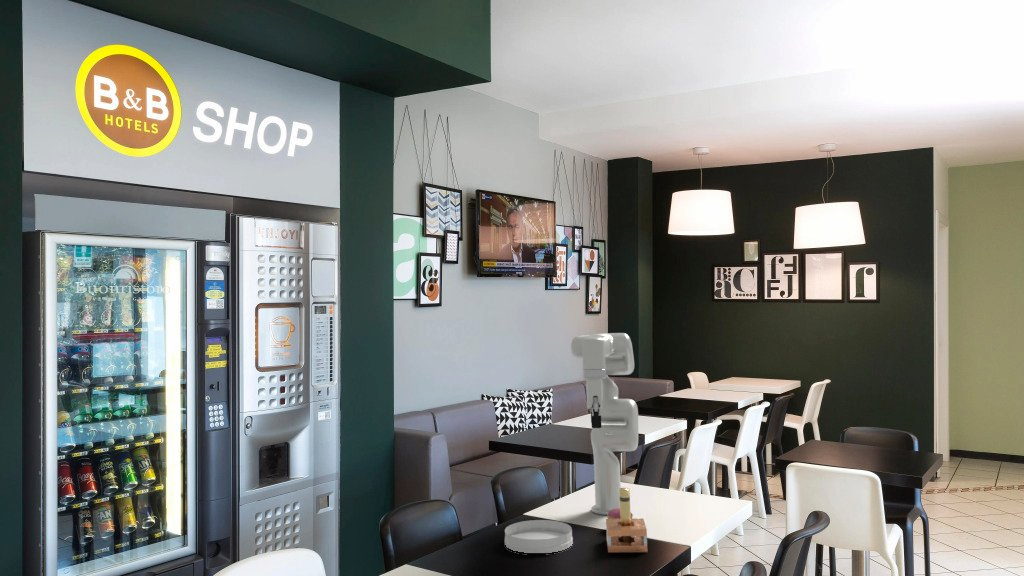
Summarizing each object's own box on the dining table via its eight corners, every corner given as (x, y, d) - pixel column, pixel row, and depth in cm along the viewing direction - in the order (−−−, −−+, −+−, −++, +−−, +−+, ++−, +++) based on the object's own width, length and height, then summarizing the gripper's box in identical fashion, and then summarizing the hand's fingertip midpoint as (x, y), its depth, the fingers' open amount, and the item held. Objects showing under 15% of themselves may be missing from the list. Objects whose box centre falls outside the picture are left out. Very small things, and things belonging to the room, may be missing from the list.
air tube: (621, 544, 244) (618, 487, 244) (631, 544, 243) (629, 487, 244) (621, 547, 241) (619, 490, 241) (632, 547, 240) (629, 490, 241)
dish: (561, 558, 233) (561, 542, 233) (494, 552, 241) (493, 536, 241) (580, 537, 254) (580, 522, 254) (518, 532, 261) (517, 517, 262)
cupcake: (635, 527, 262) (633, 491, 263) (630, 534, 254) (629, 497, 255) (610, 525, 265) (609, 490, 266) (605, 532, 257) (603, 496, 258)
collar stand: (606, 540, 248) (606, 518, 249) (644, 540, 247) (643, 518, 248) (608, 552, 236) (607, 529, 237) (647, 552, 235) (646, 529, 236)
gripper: (583, 372, 265) (584, 421, 264) (583, 376, 248) (585, 430, 247) (604, 371, 264) (606, 421, 264) (606, 376, 247) (608, 429, 247)
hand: (596, 425), depth 255 cm, fingers open, 9 cm apart
